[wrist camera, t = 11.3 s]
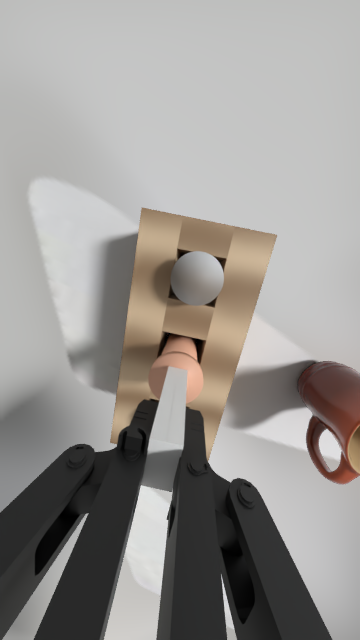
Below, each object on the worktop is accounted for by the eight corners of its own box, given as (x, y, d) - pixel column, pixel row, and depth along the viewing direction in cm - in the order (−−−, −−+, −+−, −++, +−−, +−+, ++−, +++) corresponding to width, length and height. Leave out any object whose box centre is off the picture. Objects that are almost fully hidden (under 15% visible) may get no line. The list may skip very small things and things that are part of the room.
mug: (316, 341, 25) (399, 385, 15) (368, 373, 25) (480, 435, 16) (262, 405, 28) (301, 478, 18) (310, 432, 28) (373, 518, 18)
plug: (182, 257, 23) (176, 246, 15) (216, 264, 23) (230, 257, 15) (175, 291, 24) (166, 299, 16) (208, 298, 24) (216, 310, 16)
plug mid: (167, 322, 23) (152, 350, 14) (203, 329, 23) (209, 362, 14) (161, 354, 24) (144, 398, 15) (195, 361, 24) (196, 410, 15)
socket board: (156, 227, 23) (141, 207, 16) (251, 247, 23) (277, 235, 16) (129, 403, 29) (110, 442, 22) (203, 420, 29) (207, 464, 22)
